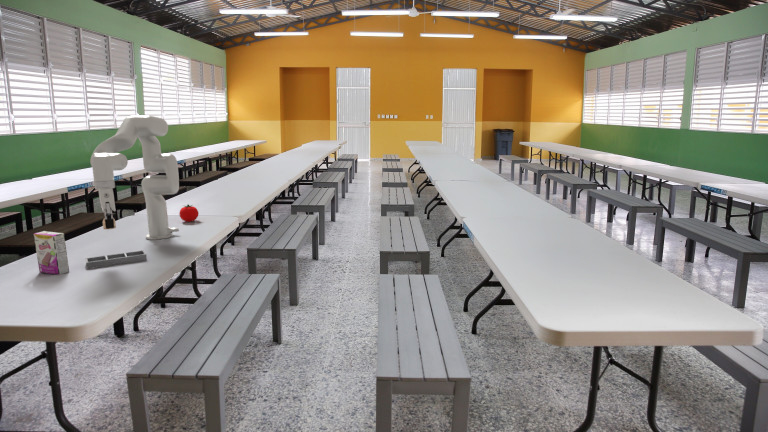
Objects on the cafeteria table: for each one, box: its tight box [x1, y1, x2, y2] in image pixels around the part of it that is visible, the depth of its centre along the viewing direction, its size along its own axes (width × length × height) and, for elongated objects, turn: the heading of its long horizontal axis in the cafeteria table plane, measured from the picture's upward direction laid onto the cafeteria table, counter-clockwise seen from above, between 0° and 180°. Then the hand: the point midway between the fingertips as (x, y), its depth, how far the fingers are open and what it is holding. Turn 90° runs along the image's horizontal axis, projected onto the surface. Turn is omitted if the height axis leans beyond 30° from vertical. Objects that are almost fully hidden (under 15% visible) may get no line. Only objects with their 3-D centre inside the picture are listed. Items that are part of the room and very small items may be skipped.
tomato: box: [178, 204, 199, 223], centre depth 305 cm, size 10×10×10 cm
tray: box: [85, 249, 148, 270], centre depth 227 cm, size 23×8×3 cm, turn 121°
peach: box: [102, 217, 117, 230], centre depth 224 cm, size 5×5×5 cm
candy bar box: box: [33, 230, 70, 276], centre depth 212 cm, size 11×5×16 cm, turn 71°
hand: (109, 226), depth 224 cm, fingers closed on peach, 4 cm apart
